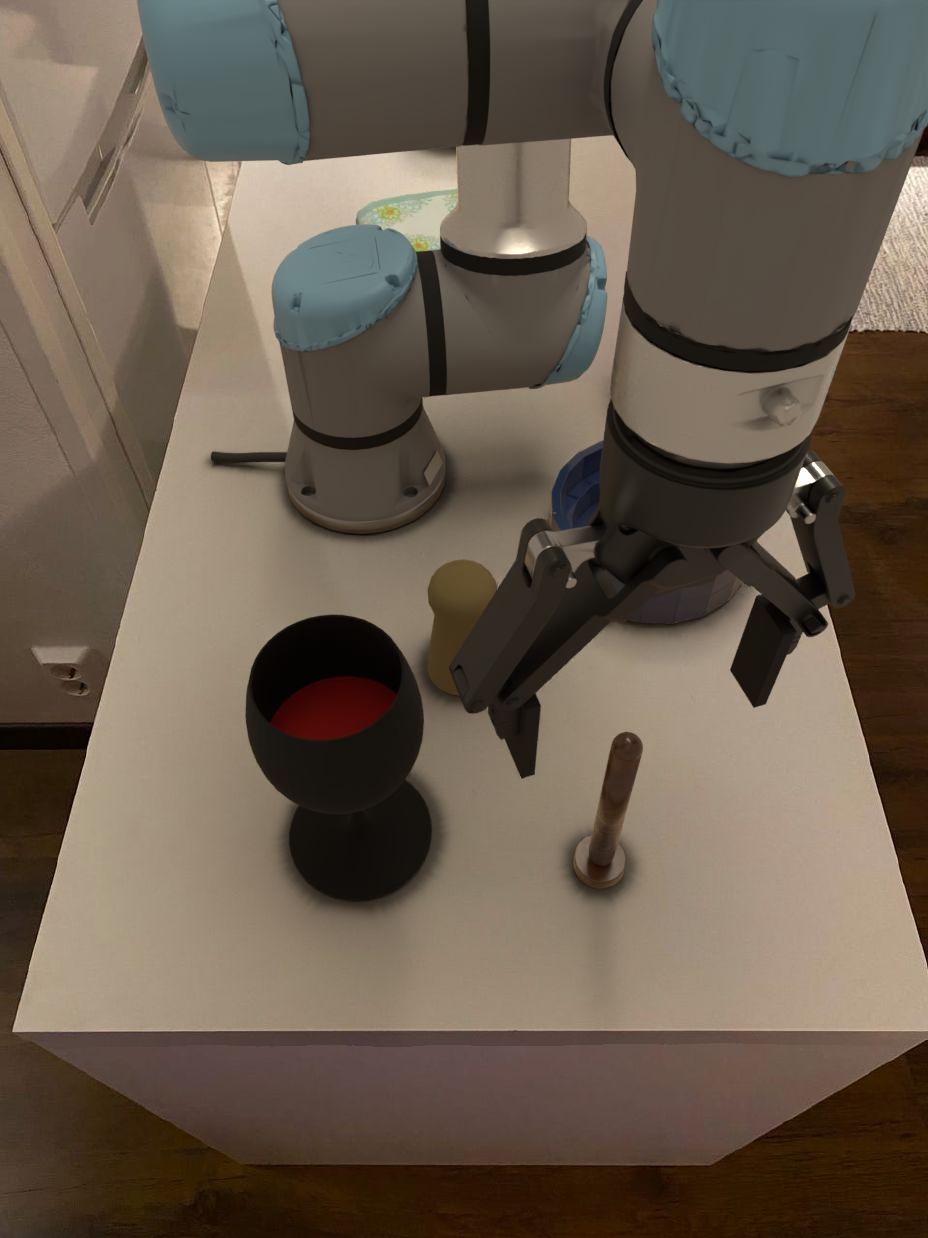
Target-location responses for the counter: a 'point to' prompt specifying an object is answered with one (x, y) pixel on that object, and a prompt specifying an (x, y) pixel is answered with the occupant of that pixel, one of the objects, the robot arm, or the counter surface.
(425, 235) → the towel
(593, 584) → the robot arm
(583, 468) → the bowl
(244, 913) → the counter surface
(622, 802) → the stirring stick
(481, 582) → the cork
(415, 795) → the wine glass
